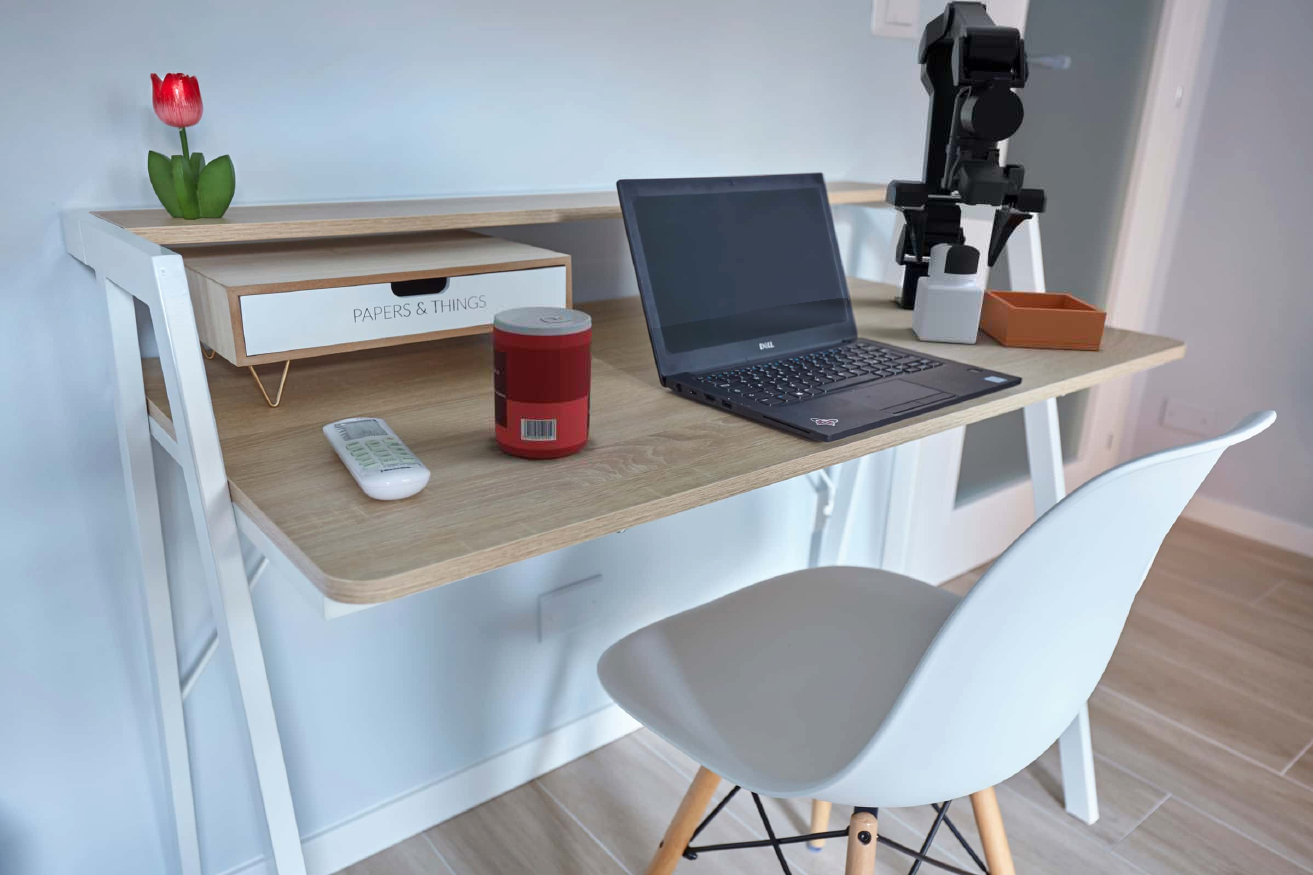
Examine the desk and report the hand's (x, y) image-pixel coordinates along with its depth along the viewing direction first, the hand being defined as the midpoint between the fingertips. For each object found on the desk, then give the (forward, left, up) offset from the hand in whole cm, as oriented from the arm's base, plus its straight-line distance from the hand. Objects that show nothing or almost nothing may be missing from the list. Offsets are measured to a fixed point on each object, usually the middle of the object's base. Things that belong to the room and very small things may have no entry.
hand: (954, 265), depth 120 cm
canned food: (+47, -47, -10) cm, 67 cm away
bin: (-2, +13, -10) cm, 16 cm away
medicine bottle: (0, 0, -10) cm, 10 cm away
